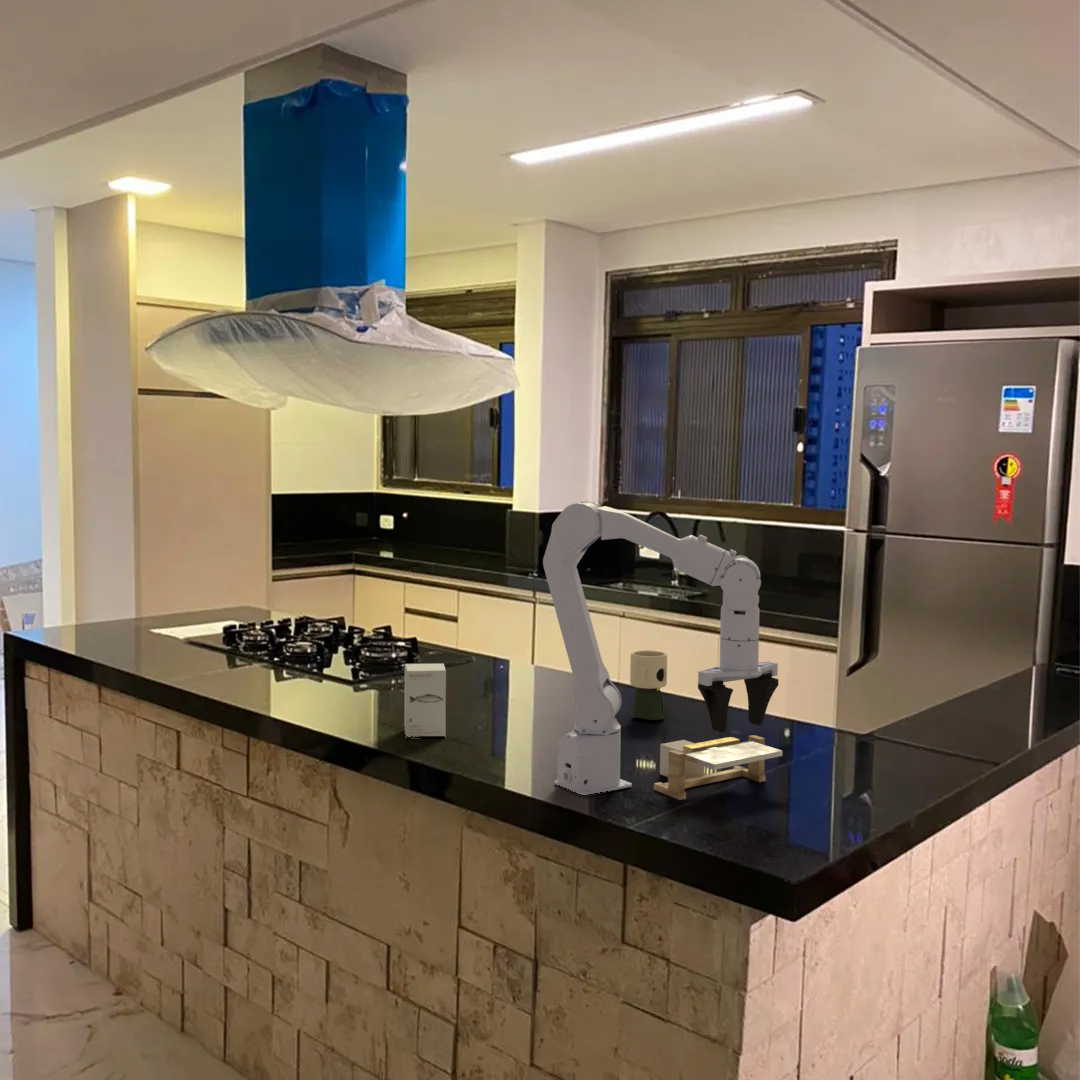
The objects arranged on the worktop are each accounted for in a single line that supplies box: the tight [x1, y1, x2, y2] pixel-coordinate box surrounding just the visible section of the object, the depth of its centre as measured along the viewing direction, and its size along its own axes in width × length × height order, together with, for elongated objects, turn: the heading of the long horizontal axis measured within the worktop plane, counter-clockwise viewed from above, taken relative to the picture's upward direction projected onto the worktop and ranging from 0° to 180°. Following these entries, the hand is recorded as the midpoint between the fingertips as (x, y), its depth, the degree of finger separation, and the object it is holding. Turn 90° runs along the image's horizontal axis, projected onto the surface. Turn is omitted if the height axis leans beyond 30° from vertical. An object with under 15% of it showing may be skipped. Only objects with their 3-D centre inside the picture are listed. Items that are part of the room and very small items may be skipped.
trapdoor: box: [683, 736, 783, 771], centre depth 166 cm, size 14×9×2 cm, turn 124°
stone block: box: [659, 739, 705, 779], centre depth 175 cm, size 5×5×5 cm
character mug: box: [629, 650, 668, 722], centre depth 212 cm, size 11×7×13 cm, turn 160°
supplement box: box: [403, 663, 447, 737], centre depth 199 cm, size 7×7×13 cm
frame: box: [653, 734, 766, 801], centre depth 169 cm, size 18×6×7 cm, turn 124°
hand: (737, 727), depth 164 cm, fingers open, 7 cm apart
